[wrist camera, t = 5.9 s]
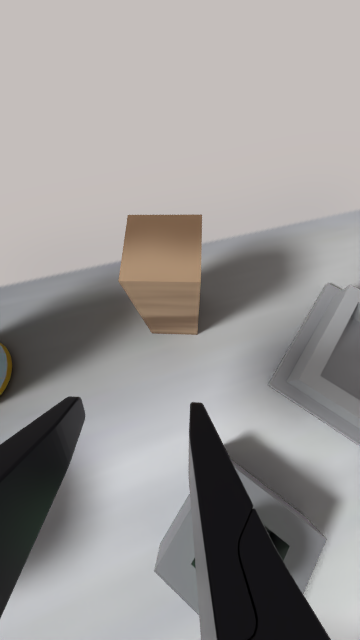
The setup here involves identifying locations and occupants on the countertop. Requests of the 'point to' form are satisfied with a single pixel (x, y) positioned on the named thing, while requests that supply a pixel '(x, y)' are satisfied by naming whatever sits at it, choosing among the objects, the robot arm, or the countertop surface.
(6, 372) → the bottle
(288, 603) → the robot arm
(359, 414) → the grey square socket
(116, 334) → the countertop surface
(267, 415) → the countertop surface
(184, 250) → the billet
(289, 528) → the switch box
